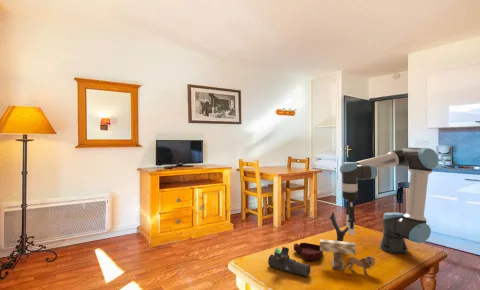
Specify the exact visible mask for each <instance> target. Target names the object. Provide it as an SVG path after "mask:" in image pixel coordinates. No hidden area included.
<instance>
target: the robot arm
mask: <svg viewBox="0 0 480 290" xmlns="http://www.w3.org/2000/svg"><path fill="white" fill-rule="evenodd" d="M439 159H440V158H439V156H438V154H437V153H436V151H435V150H434V149H432V148H429V147H428V148H427V147H403V148H398V149H396V150H395V149H394V150H392V151H388V152H387V153H386V154H381V155H378V156H373V157H371V158H367V159H362V160H359V161H355V162H353V161H351V162H350V161H345V162H343V163H342V164H341V165H340V167H339V171H340V174H341V177H342V179H341V180H342V183H341V185H340V186H341V187H342V192H341V193H342V199H345V214H346V215H345V223H346V225H345V227H349V230H348V235H351V236H355V234H356V233H355V223H356V218H355V217H356V215H355V201H354V200H357V199H358V196H359V194H358V191H359V189H358V185H359V183H358V180H372V179H376V178H377V177H378V170H380V169H383V168H388V167H393V168H394V167H407V169H408V171H409V173H410V178H409V186H408V195H407V201H406V202H407V203H406V204H407V205H406V212H405V213H403V212H384V213H383V217H382V237H381V240H380V243H379V248H380V249H381V250H382V251H384V252H385V253H389V254H392V255H394V254H395V255H405V254H408V246H407V242H406V240H408V241H411V242H415V243H416V244H422V243H425V242H427V240H428V239H429V238H430V236H431V234H432V233H431V231H432V230H431V226H430V225H429V224H428V223H427V222H428V220H427V218H426V217H425V209H426V199H427V193H428V192H427V191H428V181H429V175H430V174H432V172H433V170H434V169H436V168H437V166H438V165H439Z"/></svg>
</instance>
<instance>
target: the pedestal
mask: <svg viewBox="0 0 480 290" xmlns="http://www.w3.org/2000/svg"><path fill="white" fill-rule="evenodd" d="M331 269H332V270H339V271H345V265H344V261H343V253H336V252H333V259H331Z"/></svg>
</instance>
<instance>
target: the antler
mask: <svg viewBox="0 0 480 290" xmlns="http://www.w3.org/2000/svg"><path fill="white" fill-rule="evenodd" d="M329 219H330V221H331V222H332V225H333V227H334V229H335V232H336V241H344V236H345V235H346V233H347V232H349V227H347V226H345V227H346V228H345V229H343V230H341V228H340V226H339V224H338V222H337V219H336V215H335V212H334V211H332V212H331V215H330V216H329Z"/></svg>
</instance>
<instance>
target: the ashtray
mask: <svg viewBox="0 0 480 290" xmlns="http://www.w3.org/2000/svg"><path fill="white" fill-rule="evenodd" d="M293 251H294V252H296V253H297V254H300V255H301V256H302V258H303V259H305V261H307V262H311V261H316V260H318V259H320V257H321V256H323V253H324V251H320V244H314V243H308V242H300V243H299V244H298V243H297V242H296V243H294V244H293Z"/></svg>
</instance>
